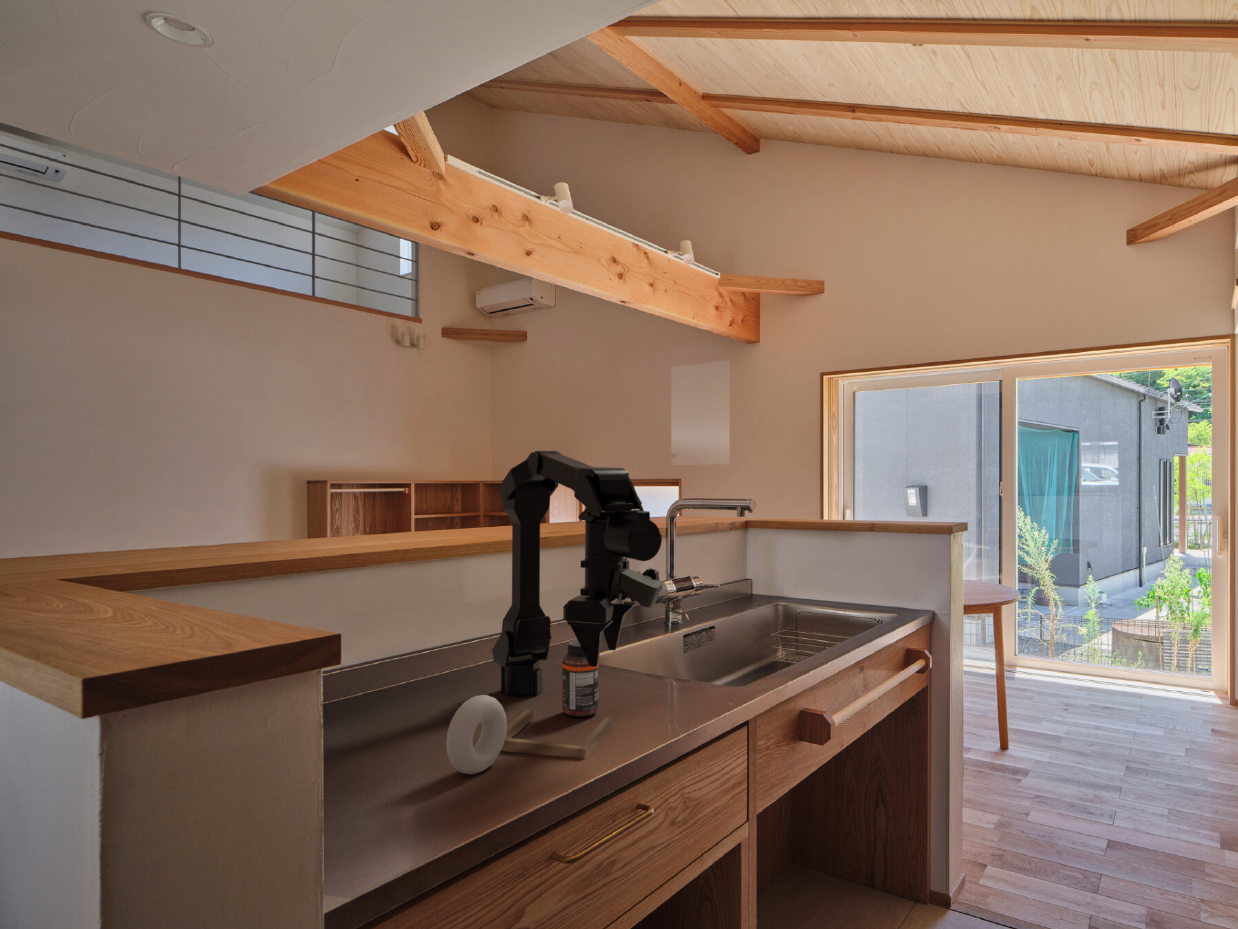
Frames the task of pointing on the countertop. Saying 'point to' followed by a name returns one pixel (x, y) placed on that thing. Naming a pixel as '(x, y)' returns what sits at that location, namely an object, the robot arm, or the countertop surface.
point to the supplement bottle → (579, 683)
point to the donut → (464, 728)
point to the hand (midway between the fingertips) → (603, 657)
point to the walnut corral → (548, 747)
